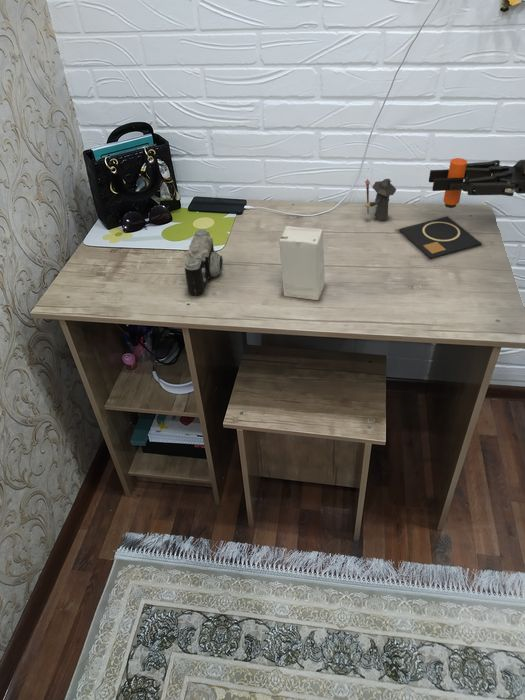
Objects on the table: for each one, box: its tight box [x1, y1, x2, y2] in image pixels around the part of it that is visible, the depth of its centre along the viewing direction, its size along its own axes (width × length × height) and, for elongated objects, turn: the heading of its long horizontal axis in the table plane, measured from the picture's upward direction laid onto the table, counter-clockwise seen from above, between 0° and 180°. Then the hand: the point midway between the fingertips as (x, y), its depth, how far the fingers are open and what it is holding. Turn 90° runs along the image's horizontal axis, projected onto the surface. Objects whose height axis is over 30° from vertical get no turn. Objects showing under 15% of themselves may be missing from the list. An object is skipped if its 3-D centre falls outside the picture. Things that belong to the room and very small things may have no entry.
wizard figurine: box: [364, 178, 397, 221], centre depth 144 cm, size 8×6×12 cm
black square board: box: [398, 216, 482, 260], centre depth 140 cm, size 14×14×1 cm
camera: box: [183, 228, 224, 298], centre depth 129 cm, size 15×7×10 cm, turn 173°
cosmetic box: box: [278, 225, 325, 301], centre depth 122 cm, size 8×6×15 cm
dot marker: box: [443, 157, 468, 209], centre depth 133 cm, size 4×4×11 cm
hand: (431, 180), depth 132 cm, fingers closed on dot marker, 4 cm apart
